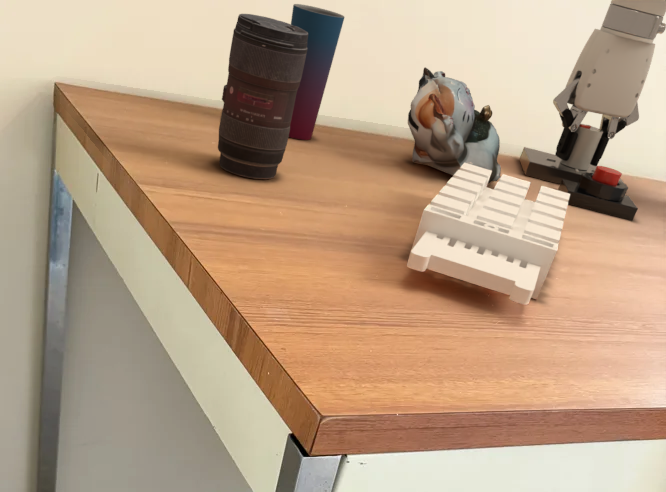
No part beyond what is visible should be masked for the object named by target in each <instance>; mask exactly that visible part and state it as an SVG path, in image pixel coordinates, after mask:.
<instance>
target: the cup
mask: <svg viewBox="0 0 666 492" xmlns="http://www.w3.org/2000/svg"><path fill="white" fill-rule="evenodd" d="M290 20H291V21H290V24H291V25H293V26H296V27H299V28H301V29H303V30H305V31H306V32H308V40H307V48H308V49H307V54H306V58H305V63H304V68H303V73H302V78H301V81H300V85H299V87H298V90H297V93H296V98H295V103H294V109H293V114H292V119H291V124H290V132H289V137H288V138H291V139H296V140H300V141H301V140H303V141H309V140H311V139H312V137H313V133H314V129H315V127H316V123H317V119H318V116H319V113H320V112H319V111H320V108H321V104H322V100H323V97H324V94H325V89H326V86H327V83H328V79H329V75H330V72H331V68H332V65H333V61H334V57H335V53H336V50H337V47H338V43H339V39H340V35H341V32H342V28H343V24H344V20H345V15H343V14H341V13H338V12H335V11H332V10H328V9H325V8H321V7H316V6H312V5H308V4H301V3H293V6H292V13H291V19H290Z"/></svg>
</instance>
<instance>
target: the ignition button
mask: <svg viewBox="0 0 666 492" xmlns="http://www.w3.org/2000/svg"><path fill="white" fill-rule="evenodd" d="M622 175H623V173H622V172H620V171H619V170H616V169H614V168H611V167H608V166H602V165H597V167H596V169H595V172H594V174H593V176H592V178H593V179H595V180H597V181H600V182H603V183H607V184H610V185H617V184H618V182H619V180H620V178H622Z"/></svg>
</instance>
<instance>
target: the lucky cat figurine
mask: <svg viewBox="0 0 666 492" xmlns="http://www.w3.org/2000/svg"><path fill="white" fill-rule="evenodd" d="M475 107H476V106H475V103H474V100H473V96H472V93H471V91H470V88H469V87H468V86H467V84H466V83H465V82H463V81H461V80H459V79H455V78H452V77H447V76H446V72H443V70H438V71H435V72H432V71H431V70H430V69H429V68H427V67H423V71H422V76H421V78H420V79H419V80H418V88H417V92H416V94H415V96H414V97H413V98H412V100H411V102H410V109H409V112H408V114H407V125H408V127H409V131H410V132H411V136H412V138H413V140H414V144H413V149H412V157H411V158H412V159H411V160H412V163H413V164H420V165H425V166H428V167H431V168H434V169H436V170H438V171H441V172H443V173H446V174H448V175H451V176H452V177H453V176H454V174H455V173H456V172H457V171H458V170H459V169H460V167H461V166H462V165H463V164H464V163H468V164H471V165H475V166H478V167H481V168H485V169H488V170H491V171H492V173H491V176H490V179H489V181H488V184H487V186H488V185H489V184H491V183H492V182H498V181H499V179H500V178H501V171H502V167H501V164H500V163H499V162H498V157H499V154H500V153H499V152H500V148H501V147H500V142H501V141H500V136H499V133H498V131H497V129H496V127H495V126H494V123H492V122H491V121H490V120H491V118H492V116H493V110H492V109H491V107H490V104H488V105H485V106H483V107H482V108H481V110H480V111H478V110H477V109H475Z"/></svg>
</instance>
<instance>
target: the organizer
mask: <svg viewBox="0 0 666 492" xmlns="http://www.w3.org/2000/svg"><path fill="white" fill-rule="evenodd" d="M491 173H492V171H491V170H488V169H485V168H481V167H478V166H475V165H471V164H468V163H464V164H463V165H462V166H461V167H460V169H459V170H458V171H457V172H456V173H455V174H454V176H453V175H452V177H450V179H449V180H448V181H447V182H446V184H445V185H444V186H442V188H441V189H440V190H439V192H438V194H436V195H435V196H434V197H433V198H432V199H431V201H430V203H428V204H427V206H426V207H425V208H424V209H423V210H422V214H421V217H420V221H419V224H418V226H417V230H416V234H415V237H414V240H413V243H412V246H411V250H410V253H409V255H408V259H407V263H406V267H407V268H409V269H411V270H414V271H417V272H426V270H429V271H433V272H436V273H439V274H442V275H445V276H448V277H451V278H454V279H457V280H461V281H464V282H467V283H469V284H473V285H476V286H479V287H482V288H486V289H487V290H492V291H495V292H498V293H501V294H504V295H507V296H509V297H508V299H509V300H510V301H511V302H514V303H517V304H520V305H525V306H527V305H529V303H530V301H531V299H533V300H536V301H537V300H538V298H539V295H540V293H541V290H542V288H543V286H544V283H545V281H546V279H547V277H548V275H549V271H550V270H551V267H552V264H553V262H554V259H555V257H556V255H557V252H558V248H559V246H560V245H559V244H560V241H561V236H562V231H563V227H564V223H565V219H566V214H567V210H568V206H569V204H568V201H569V198H570V194H569V193H566V192H562V191H559V190H558V189H555V188H552V187H549V186H545V185H541V186H540V188H539V191H538V194H537V196H536V199H535V200H531V199H528V198H526V196H527V194H528V192H529V188H530V186H531V183H532V182H531V181H529V180H526V179H521V178H518V177H515V176H511V175H508V174H504V173H501V175H500V178H499V179H498V180H497V181H496V183H495V186H494V188H490V187H488V185H489V184H488V181H489V179H490V176H491ZM487 184H488V185H487Z"/></svg>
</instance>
